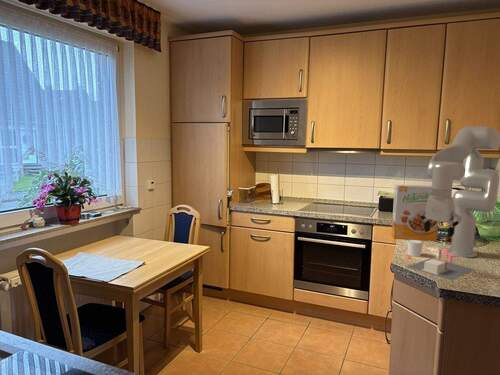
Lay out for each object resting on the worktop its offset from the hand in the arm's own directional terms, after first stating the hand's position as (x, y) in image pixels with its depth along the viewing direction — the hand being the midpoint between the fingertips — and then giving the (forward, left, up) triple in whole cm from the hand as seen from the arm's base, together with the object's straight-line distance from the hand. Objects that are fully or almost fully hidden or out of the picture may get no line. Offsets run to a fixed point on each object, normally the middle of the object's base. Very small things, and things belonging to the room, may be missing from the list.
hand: (438, 233), depth 156 cm
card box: (0, 0, -16) cm, 16 cm away
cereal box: (-43, -34, -16) cm, 58 cm away
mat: (-4, 0, -16) cm, 17 cm away
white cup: (-13, -17, -16) cm, 27 cm away
